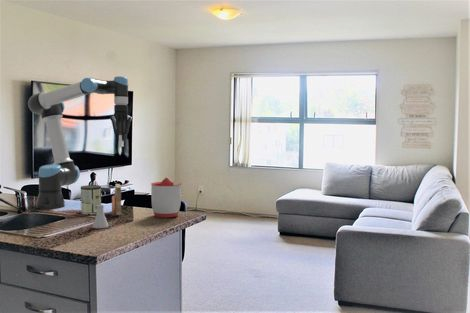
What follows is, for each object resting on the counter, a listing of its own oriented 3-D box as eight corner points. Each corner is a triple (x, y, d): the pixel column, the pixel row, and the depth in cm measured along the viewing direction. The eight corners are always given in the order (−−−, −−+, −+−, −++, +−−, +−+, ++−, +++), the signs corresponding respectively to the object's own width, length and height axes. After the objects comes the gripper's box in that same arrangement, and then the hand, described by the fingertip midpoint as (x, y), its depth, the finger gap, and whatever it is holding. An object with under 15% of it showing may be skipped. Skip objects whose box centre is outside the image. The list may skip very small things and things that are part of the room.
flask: (91, 226, 212) (91, 204, 211) (107, 225, 215) (107, 203, 214) (93, 229, 205) (93, 207, 204) (109, 228, 208) (109, 206, 207)
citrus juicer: (190, 215, 239) (190, 177, 238) (163, 220, 226) (164, 180, 225) (170, 211, 250) (170, 175, 248) (144, 215, 237) (144, 177, 235)
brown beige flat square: (115, 209, 247) (115, 183, 246) (119, 209, 248) (119, 183, 247) (116, 215, 233) (116, 187, 232) (121, 214, 233) (120, 187, 232)
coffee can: (85, 210, 249) (85, 184, 248) (104, 211, 248) (104, 185, 247) (77, 214, 238) (77, 187, 237) (96, 214, 237) (96, 187, 236)
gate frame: (115, 210, 251) (115, 188, 250) (120, 210, 251) (120, 188, 250) (110, 215, 236) (110, 192, 235) (116, 215, 236) (116, 192, 235)
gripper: (134, 104, 259) (134, 146, 260) (113, 104, 261) (113, 146, 263) (129, 104, 251) (129, 147, 253) (107, 104, 254) (107, 146, 256)
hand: (121, 146), depth 258 cm, fingers closed
